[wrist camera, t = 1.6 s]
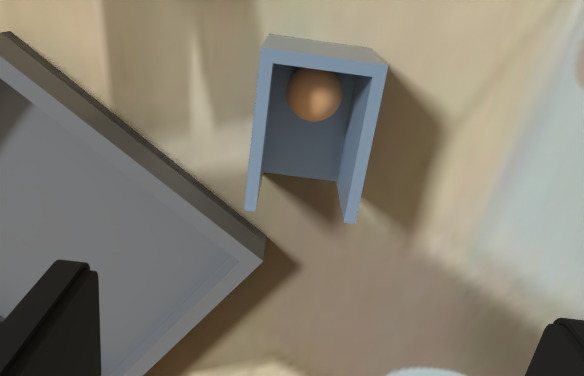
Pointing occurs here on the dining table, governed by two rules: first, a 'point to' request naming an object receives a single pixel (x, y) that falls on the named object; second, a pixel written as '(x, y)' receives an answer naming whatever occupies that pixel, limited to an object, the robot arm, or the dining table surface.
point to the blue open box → (321, 134)
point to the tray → (108, 215)
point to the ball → (314, 94)
